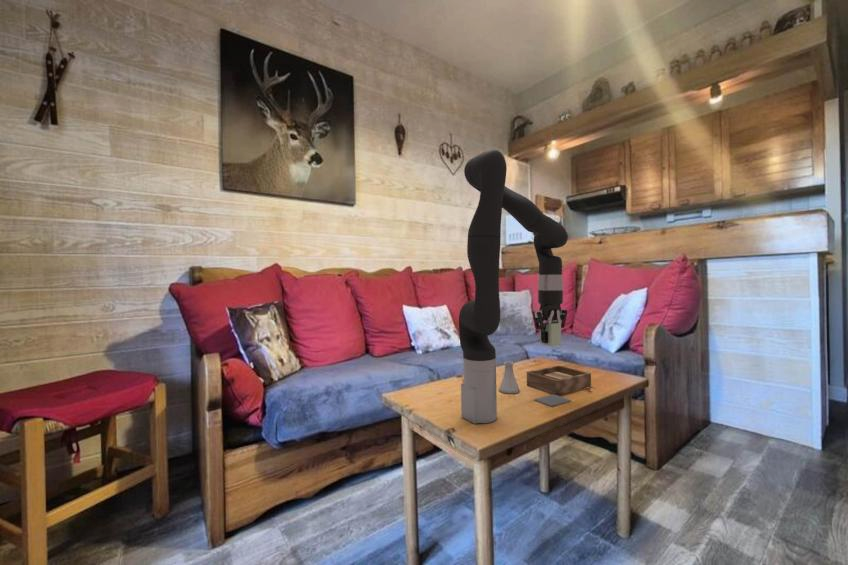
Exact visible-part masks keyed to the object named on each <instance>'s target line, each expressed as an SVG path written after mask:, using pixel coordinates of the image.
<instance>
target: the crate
mask: <svg viewBox="0 0 848 565" xmlns="http://www.w3.org/2000/svg"><path fill="white" fill-rule="evenodd" d="M526 386H528V387H530V388H533V389H536V390H539V391H541V392H545V393H548V394H550V395H552V394H555V395H558V396H561V397H562V396H564V395H567V394H572V393H575V392H574V391H576V392H578V391H577V390H579V391H582V390H581V389H583V390H585V389H584V388H587V387H590V386H591V387H592V373H591V372H587V371H583V370H579V369H574V368H571V367H567V366H563V365H560V364H559V365H558V364H557V365H554V366H547V367H543V368H539V369H534V370H530V371H529V370H528V371H526ZM587 389H588V388H587ZM571 392H572V393H571Z"/></svg>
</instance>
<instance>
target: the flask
mask: <svg viewBox="0 0 848 565" xmlns="http://www.w3.org/2000/svg"><path fill="white" fill-rule="evenodd" d="M503 364H504V371H503V372H504V373H503V376H502V380H501V383H500V385H499V389H498V391H500V393H502V394H519V393H520V391H521V390H520V387H519V385H518V382H517V379H516V377H515V373H514V366H513V365H514V362H513V361H504V362H503Z"/></svg>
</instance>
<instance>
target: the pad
mask: <svg viewBox="0 0 848 565" xmlns="http://www.w3.org/2000/svg"><path fill="white" fill-rule="evenodd" d="M534 401H535V402H538V403H540V404H543V405H545V406H548V407H551V408H553V407H557V406H559V405H560V406H561V405H564V404H568V403H571V402H572V399H569V398H566V397H563V396H562V395H561V396H558V395H555V394H550V395H543V396H542V397H538V398H534ZM570 401H571V402H570ZM567 402H568V403H567Z"/></svg>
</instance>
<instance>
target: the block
mask: <svg viewBox="0 0 848 565" xmlns="http://www.w3.org/2000/svg"><path fill="white" fill-rule="evenodd" d="M561 324H562V322H561V323H555V322H551V324H549V329H548V331H547V332H548V343H542V341H541V331H540V330H539V344H540V345H542V346H547V347H557V346H562V328H561ZM545 325H546V324H544V327H545Z"/></svg>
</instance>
